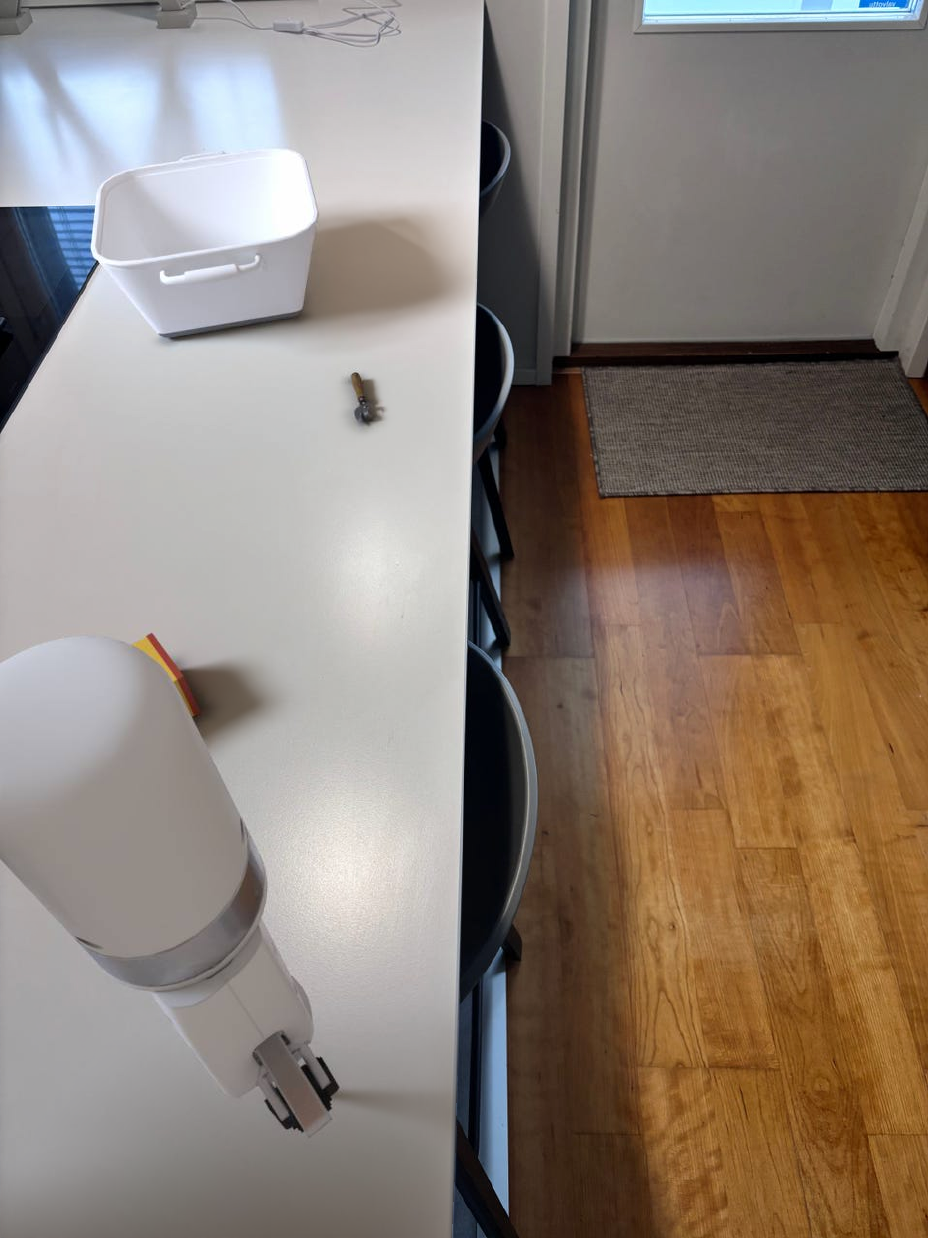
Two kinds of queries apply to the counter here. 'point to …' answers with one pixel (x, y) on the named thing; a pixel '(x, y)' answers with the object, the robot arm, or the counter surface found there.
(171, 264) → the tub
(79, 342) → the counter surface
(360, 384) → the can opener
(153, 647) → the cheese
